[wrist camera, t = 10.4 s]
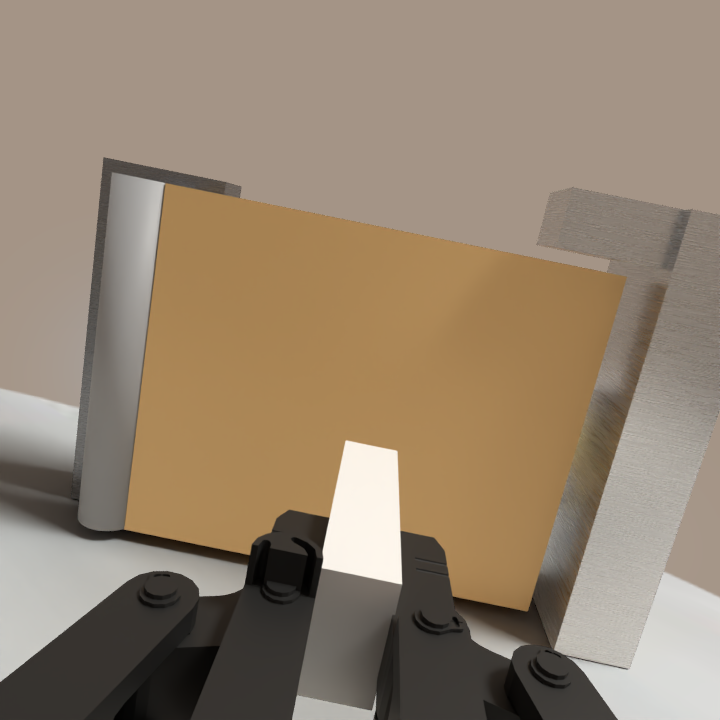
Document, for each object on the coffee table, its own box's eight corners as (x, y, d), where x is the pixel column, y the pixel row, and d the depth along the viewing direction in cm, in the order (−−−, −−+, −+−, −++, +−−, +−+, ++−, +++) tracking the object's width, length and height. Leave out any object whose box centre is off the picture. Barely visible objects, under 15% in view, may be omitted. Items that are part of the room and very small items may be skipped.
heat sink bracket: (22, 537, 23) (56, 81, 20) (118, 459, 32) (156, 125, 28) (629, 668, 23) (783, 227, 19) (569, 555, 31) (669, 228, 27)
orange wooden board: (66, 524, 24) (100, 169, 21) (94, 498, 26) (128, 175, 23) (530, 618, 24) (632, 277, 21) (517, 584, 26) (607, 272, 23)
